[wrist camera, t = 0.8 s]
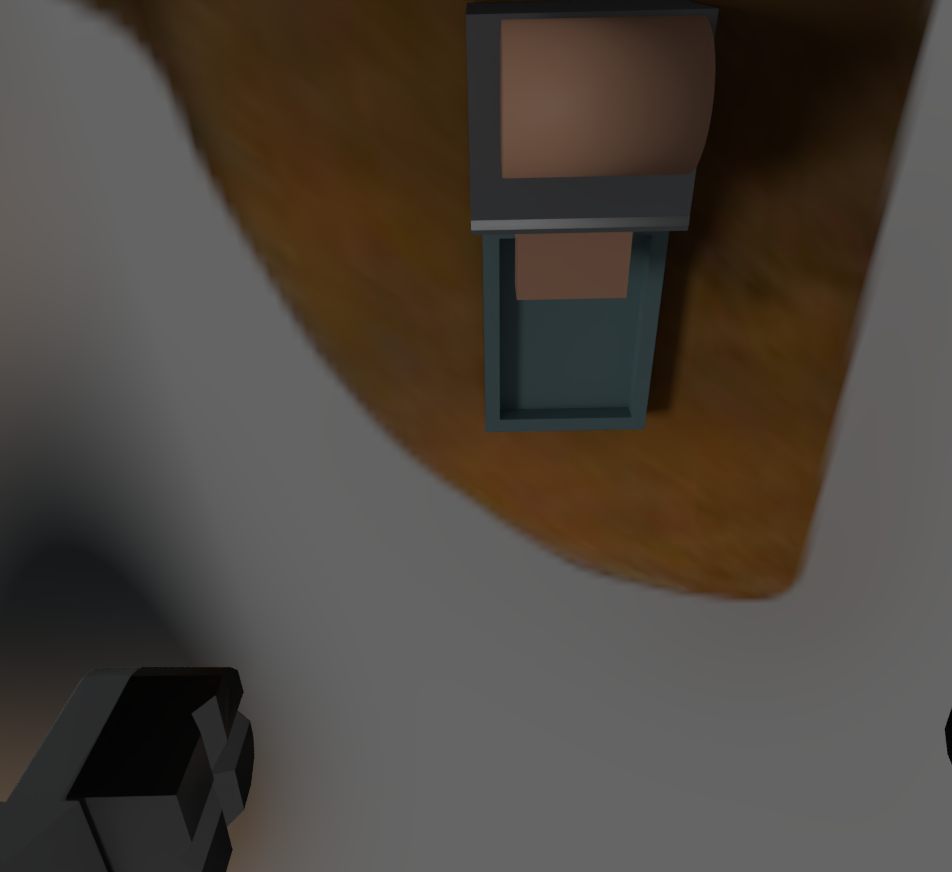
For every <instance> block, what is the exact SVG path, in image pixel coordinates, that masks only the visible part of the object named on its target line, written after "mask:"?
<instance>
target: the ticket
mask: <svg viewBox="0 0 952 872" xmlns="http://www.w3.org/2000/svg"><path fill="white" fill-rule="evenodd" d="M632 236H633V232H597V233H549V234H515V289H516V297H517V300H547V299H596V298H626V296H627V286H628V276H629V266H630V256H631V246H632Z"/></svg>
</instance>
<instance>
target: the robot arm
mask: <svg viewBox="0 0 952 872" xmlns="http://www.w3.org/2000/svg"><path fill="white" fill-rule="evenodd" d="M242 695H243V688H242V684H241V680H240V676H239V673H238V670H236V669H234V668H231V667H141V668H114V667H112V668H111V667H110V668H109V667H105V668H104V667H103V668H102V667H96V668H94V669H93V670H92V671H90V672H89V673H88V674H86V675H85V676H84V677H83V678H82V679H81V681H80V682H79V684H78V685H77V687H76V688H75V690H74V692H73V693H72V695H71V697H70V698H69V700H68V702H67V703H66V705H65V706H64V708H63V710H62V711H61V713H60V715H59V716H58V718H57V720H56V721H55V723H54V724H53V726H52V728H51V729H50V731H49V733H48V734H47V736H46V737H45V739H44V741H43V742H42V744H41V746H40V747H39V749H38V750H37V752H36V754H35V756H34V757H33V759H32V760H31V762H30V764H29V765H28V767H27V769H26V770H25V772H24V773H23V775H22V777H21V778H20V780H19V782H18V783H17V785H16V786H15V788H14V790H13V791H12V793H11V795H10V796H9V798H8V800H7V801H6V802H0V872H226V870H227V867H228V863H229V860H230V857H231V853H232V850H233V849H232V846H231V842H230V838H229V834H228V830H227V826H228V825H229V824H230V823H231V822H232V821H233V820H234V819H235V818H236V817H237V816H238V815H239V814H240V813H241V812H242V811H243V810H244V808H245V805H246V801H247V797H248V794H249V790H250V786H251V780H252V772H253V764H254V740H253V732H252V727H251V723H250V720H249V719H247V718H246V717H245V716H244V715H243V714H241V713H240V712H239V711H238V707H239V704H240V701H241V698H242ZM945 736H946V744H947V754H948V756H949V759H950V761H951V763H952V709H951V712H950V715H949V718H948V721H947V724H946V727H945Z"/></svg>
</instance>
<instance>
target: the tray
mask: <svg viewBox="0 0 952 872" xmlns="http://www.w3.org/2000/svg"><path fill="white" fill-rule="evenodd" d="M668 238H669V231H644V232H633V236H632V246H631V256H630V266H629V276H628V286H627V296H626V298H596V299H547V300H517V297H516V289H515V234H501V235H483V298H484V362H485V423H486V432H515V431H568V430H622V429H644V427H645V419H646V412H647V404H648V396H649V388H650V380H651V372H652V364H653V356H654V349H655V341H656V333H657V325H658V317H659V309H660V301H661V293H662V285H663V278H664V270H665V262H666V254H667V246H668Z"/></svg>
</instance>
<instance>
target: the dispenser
mask: <svg viewBox="0 0 952 872" xmlns="http://www.w3.org/2000/svg"><path fill="white" fill-rule="evenodd" d="M718 12H719V9H718V8H715V7H711V6H707V5H703V4H699V3H695V2H691V1H688V0H574V1H532V2H490V3H467V10H466V36H467V78H468V119H469V160H470V202H471V235H501V234H549V233H597V232H644V231H688V226H689V220H690V211H691V204H692V197H693V190H694V183H695V175H696V168H697V164H698V162H699V160H700V158H701V155H702V153H703V150H704V146H705V143H706V139H707V135H708V131H709V126H710V121H711V115H712V108H713V100H714V89H715V46H714V41H715V33H716V26H717V19H718Z"/></svg>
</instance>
